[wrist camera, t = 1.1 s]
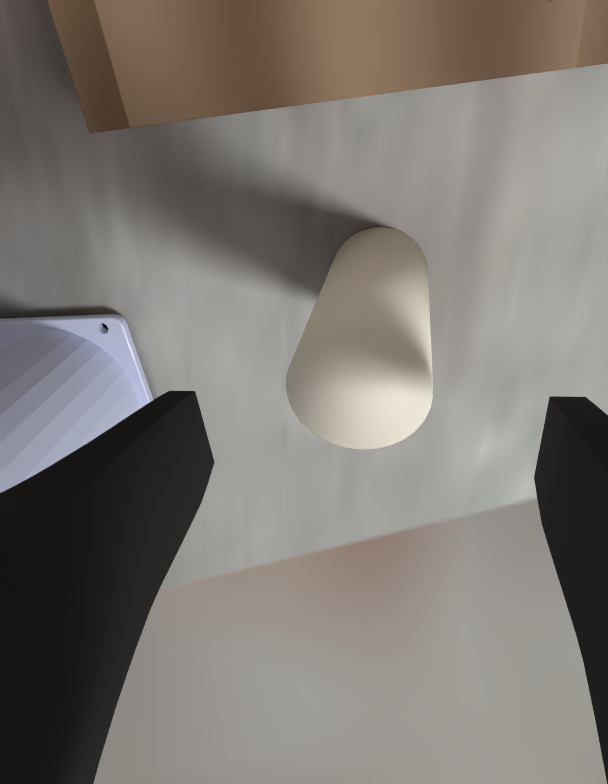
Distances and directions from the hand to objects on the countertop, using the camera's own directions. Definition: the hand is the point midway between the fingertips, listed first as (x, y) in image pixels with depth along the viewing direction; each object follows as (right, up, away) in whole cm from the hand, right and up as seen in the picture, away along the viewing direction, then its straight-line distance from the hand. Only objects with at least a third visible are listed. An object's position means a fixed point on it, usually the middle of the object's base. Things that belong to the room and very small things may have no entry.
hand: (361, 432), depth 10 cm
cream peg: (+2, +5, +8) cm, 10 cm away
